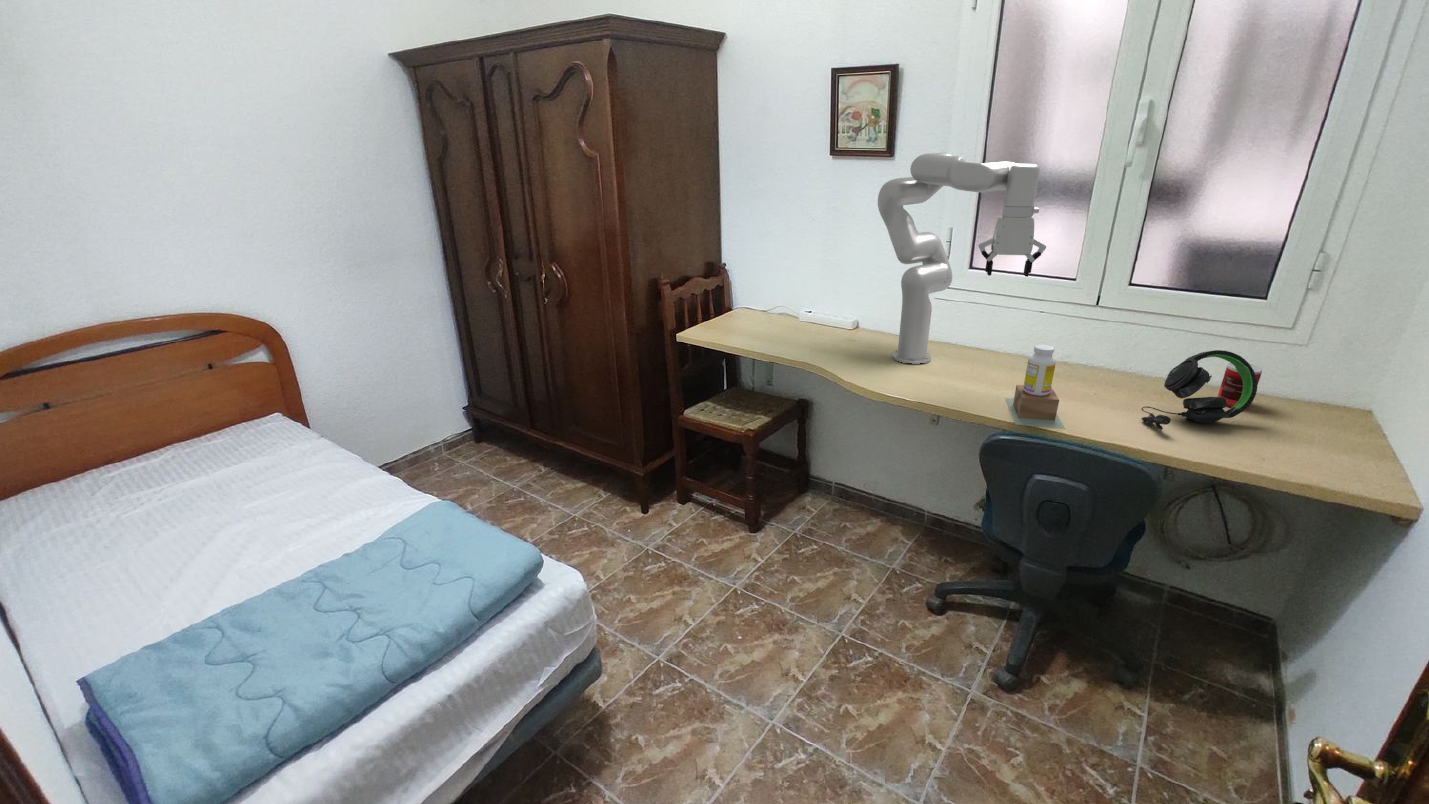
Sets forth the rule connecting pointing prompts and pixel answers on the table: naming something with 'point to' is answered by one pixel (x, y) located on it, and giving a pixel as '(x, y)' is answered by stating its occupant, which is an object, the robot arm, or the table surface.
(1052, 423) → the felt pad
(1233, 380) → the canned food
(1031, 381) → the supplement bottle
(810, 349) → the table surface
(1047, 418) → the walnut block
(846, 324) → the table surface
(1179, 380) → the headset
